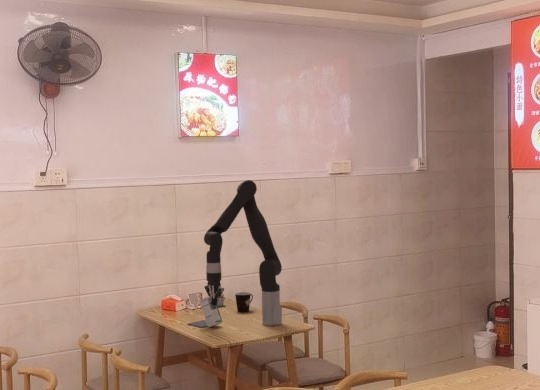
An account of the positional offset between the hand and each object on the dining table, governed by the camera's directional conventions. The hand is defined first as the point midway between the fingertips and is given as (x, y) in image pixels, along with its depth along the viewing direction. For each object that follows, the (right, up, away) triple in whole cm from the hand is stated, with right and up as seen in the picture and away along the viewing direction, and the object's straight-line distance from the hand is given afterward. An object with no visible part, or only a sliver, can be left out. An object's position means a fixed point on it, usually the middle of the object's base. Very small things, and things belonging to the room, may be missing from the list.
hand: (214, 305), depth 354 cm
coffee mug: (+14, -10, +39) cm, 42 cm away
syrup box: (0, -10, 0) cm, 10 cm away
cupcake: (-3, -9, +55) cm, 56 cm away
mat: (-7, -11, +7) cm, 15 cm away
